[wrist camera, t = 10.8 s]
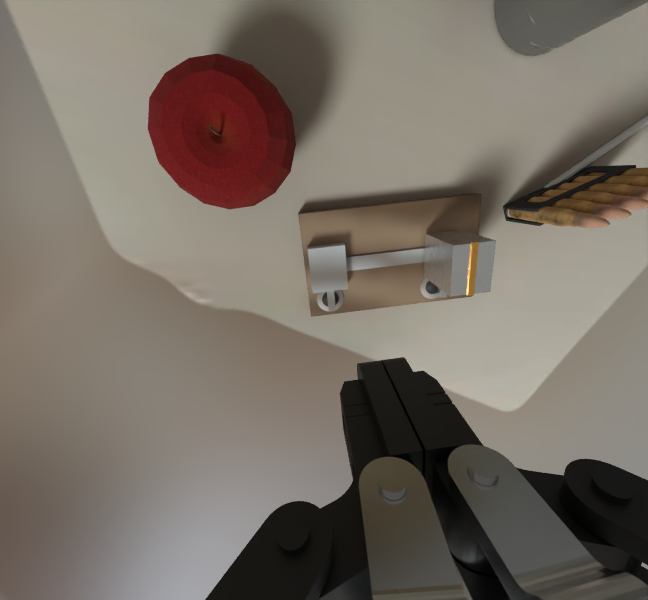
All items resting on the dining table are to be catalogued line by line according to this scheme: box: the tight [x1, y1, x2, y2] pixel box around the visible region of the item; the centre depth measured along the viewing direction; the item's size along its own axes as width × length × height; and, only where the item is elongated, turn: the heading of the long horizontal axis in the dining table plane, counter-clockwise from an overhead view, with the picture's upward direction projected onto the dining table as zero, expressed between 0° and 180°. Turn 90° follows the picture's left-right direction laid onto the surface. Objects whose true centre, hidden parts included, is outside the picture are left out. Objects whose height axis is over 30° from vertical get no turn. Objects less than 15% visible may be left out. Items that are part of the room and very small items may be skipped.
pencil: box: [543, 115, 648, 190], centre depth 34 cm, size 1×1×15 cm
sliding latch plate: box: [298, 194, 481, 317], centre depth 35 cm, size 12×20×3 cm, turn 96°
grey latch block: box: [424, 230, 496, 298], centre depth 32 cm, size 8×4×7 cm, turn 6°
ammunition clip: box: [503, 165, 648, 228], centre depth 30 cm, size 11×2×12 cm, turn 114°
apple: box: [148, 54, 296, 209], centre depth 26 cm, size 11×11×12 cm
